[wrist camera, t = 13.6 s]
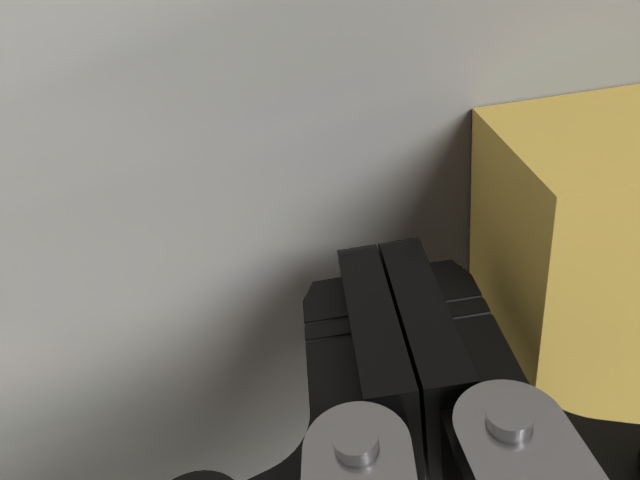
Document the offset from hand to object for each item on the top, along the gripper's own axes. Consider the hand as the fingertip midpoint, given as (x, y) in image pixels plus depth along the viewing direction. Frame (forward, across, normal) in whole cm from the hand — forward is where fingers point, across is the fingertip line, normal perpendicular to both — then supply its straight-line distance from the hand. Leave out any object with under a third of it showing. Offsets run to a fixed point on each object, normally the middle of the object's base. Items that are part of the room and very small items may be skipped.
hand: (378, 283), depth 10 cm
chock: (+1, -4, 0) cm, 4 cm away
